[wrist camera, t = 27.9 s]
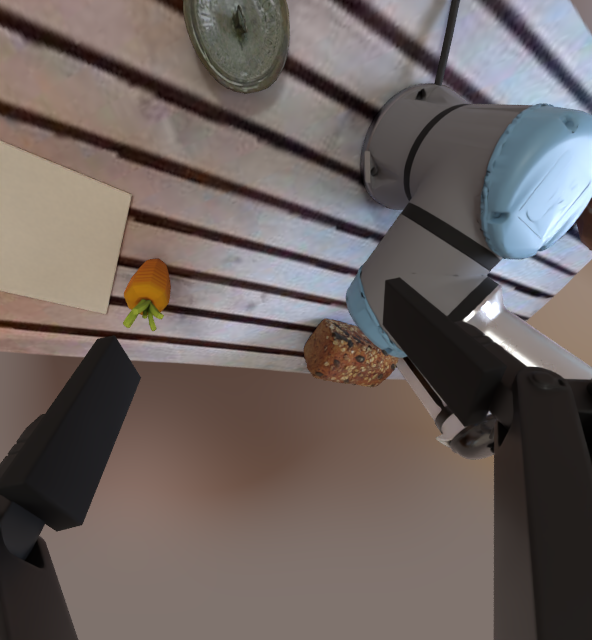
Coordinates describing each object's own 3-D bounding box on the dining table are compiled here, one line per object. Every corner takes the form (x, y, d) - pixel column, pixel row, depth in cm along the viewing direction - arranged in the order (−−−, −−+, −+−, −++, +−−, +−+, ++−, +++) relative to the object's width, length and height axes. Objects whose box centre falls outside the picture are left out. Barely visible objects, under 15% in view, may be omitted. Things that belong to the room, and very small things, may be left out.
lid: (177, 51, 30) (173, 64, 27) (194, -98, 23) (192, -103, 20) (268, 100, 34) (273, 114, 32) (305, -12, 28) (315, -6, 25)
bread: (299, 349, 61) (312, 385, 53) (324, 312, 56) (342, 346, 48) (361, 363, 70) (380, 396, 62) (388, 332, 65) (411, 364, 57)
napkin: (-76, 109, 27) (-79, 109, 27) (132, 194, 36) (131, 195, 35) (-55, 277, 36) (-57, 278, 36) (106, 313, 45) (106, 314, 44)
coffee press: (413, 368, 77) (498, 482, 54) (371, 359, 69) (450, 486, 47) (459, 321, 69) (582, 432, 46) (417, 305, 61) (539, 428, 39)
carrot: (179, 251, 41) (168, 310, 30) (172, 278, 44) (160, 343, 33) (142, 240, 39) (115, 299, 28) (137, 270, 42) (110, 335, 30)
